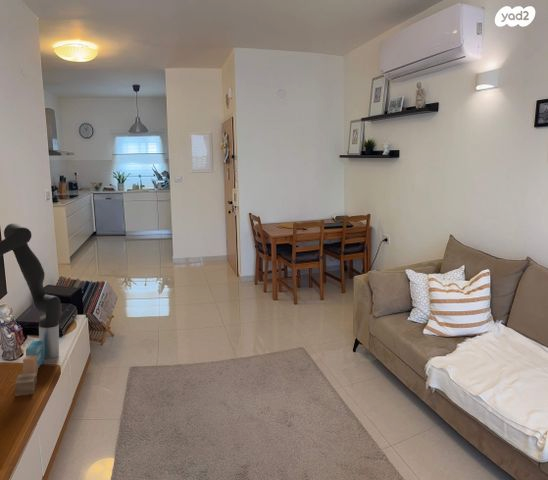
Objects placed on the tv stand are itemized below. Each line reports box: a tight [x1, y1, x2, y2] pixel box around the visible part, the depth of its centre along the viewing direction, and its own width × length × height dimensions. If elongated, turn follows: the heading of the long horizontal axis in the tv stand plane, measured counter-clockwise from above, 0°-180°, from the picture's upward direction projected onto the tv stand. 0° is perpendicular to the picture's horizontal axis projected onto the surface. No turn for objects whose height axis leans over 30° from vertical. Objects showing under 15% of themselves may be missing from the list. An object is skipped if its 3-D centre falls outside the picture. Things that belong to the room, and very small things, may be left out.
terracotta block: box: [22, 355, 39, 374], centre depth 208 cm, size 5×5×10 cm
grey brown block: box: [14, 373, 37, 397], centre depth 196 cm, size 9×7×6 cm
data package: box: [25, 340, 44, 368], centre depth 219 cm, size 12×4×12 cm, turn 13°
